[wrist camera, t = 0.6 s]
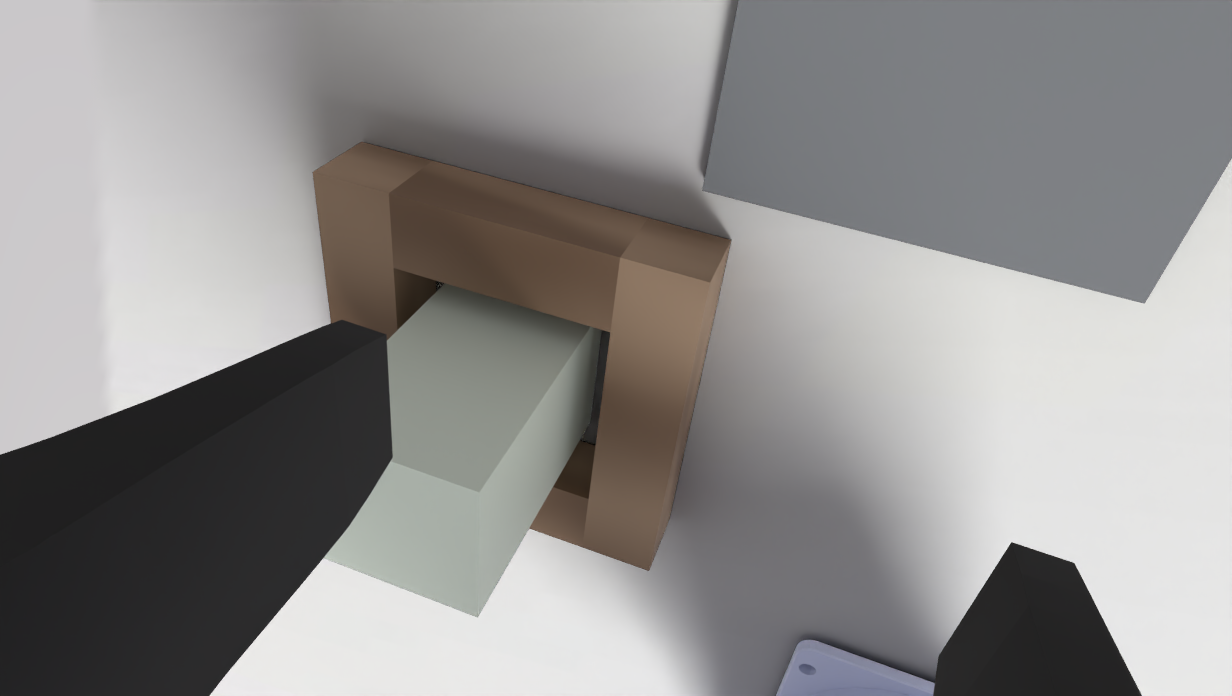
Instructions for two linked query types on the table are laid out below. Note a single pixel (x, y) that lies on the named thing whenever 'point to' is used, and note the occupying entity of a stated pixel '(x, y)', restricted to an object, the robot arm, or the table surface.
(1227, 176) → the table surface
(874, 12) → the mat
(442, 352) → the part block
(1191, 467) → the table surface
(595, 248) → the frame
